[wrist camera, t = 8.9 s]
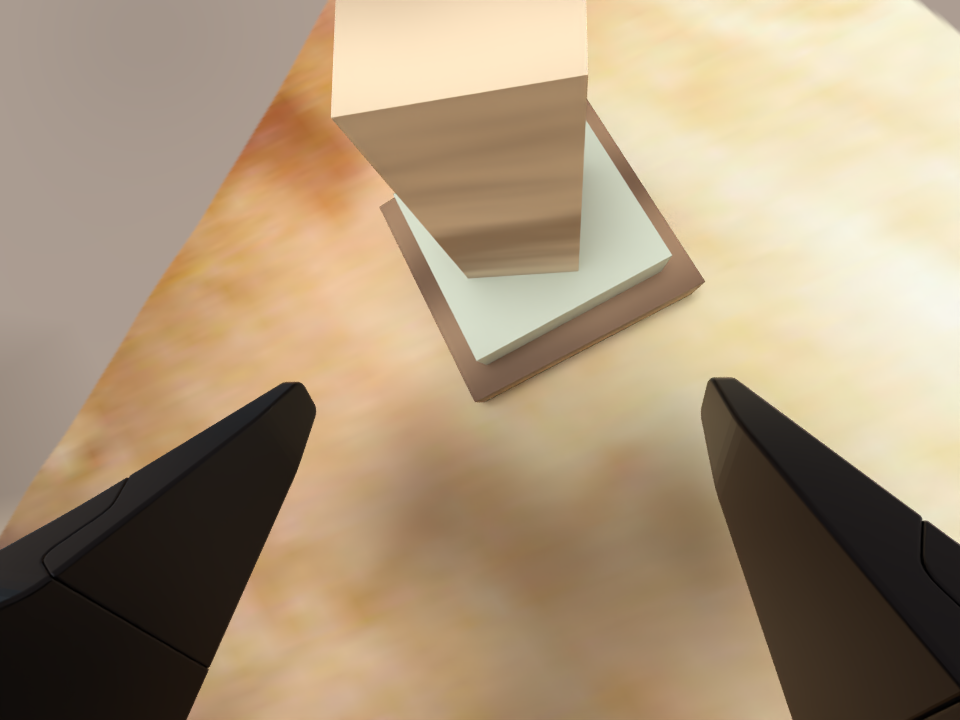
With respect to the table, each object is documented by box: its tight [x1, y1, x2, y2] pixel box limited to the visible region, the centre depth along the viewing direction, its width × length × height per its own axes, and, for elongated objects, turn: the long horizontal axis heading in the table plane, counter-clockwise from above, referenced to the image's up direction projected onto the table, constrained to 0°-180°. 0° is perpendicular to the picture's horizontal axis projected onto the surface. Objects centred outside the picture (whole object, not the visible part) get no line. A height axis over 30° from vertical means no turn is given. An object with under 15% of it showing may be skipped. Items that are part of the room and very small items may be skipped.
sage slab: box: [393, 121, 672, 365], centre depth 18 cm, size 8×8×2 cm
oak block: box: [331, 0, 588, 278], centre depth 12 cm, size 4×4×10 cm
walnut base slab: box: [380, 100, 705, 402], centre depth 20 cm, size 11×11×2 cm
